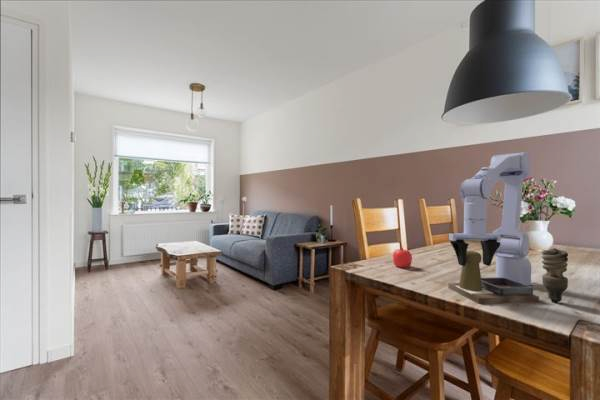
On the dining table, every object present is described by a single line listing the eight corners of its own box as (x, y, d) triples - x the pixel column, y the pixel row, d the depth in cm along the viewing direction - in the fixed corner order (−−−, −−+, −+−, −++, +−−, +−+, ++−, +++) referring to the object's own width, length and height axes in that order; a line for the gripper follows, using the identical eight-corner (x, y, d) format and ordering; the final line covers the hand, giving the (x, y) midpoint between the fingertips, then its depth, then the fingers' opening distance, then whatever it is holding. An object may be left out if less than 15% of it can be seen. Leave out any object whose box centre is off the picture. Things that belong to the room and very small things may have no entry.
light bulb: (539, 301, 77) (540, 247, 77) (541, 296, 81) (542, 245, 81) (567, 307, 73) (568, 250, 73) (567, 302, 77) (569, 248, 77)
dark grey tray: (503, 283, 89) (503, 277, 89) (534, 294, 78) (534, 287, 78) (473, 284, 88) (473, 277, 87) (500, 295, 77) (500, 288, 77)
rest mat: (476, 285, 86) (476, 285, 86) (493, 293, 79) (493, 292, 79) (455, 286, 85) (455, 285, 85) (471, 294, 78) (471, 293, 78)
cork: (462, 290, 81) (463, 252, 81) (456, 283, 87) (457, 249, 87) (485, 292, 79) (486, 253, 79) (478, 285, 85) (478, 250, 85)
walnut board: (500, 286, 90) (500, 282, 90) (538, 301, 77) (538, 296, 77) (448, 287, 88) (448, 283, 88) (478, 303, 75) (478, 298, 75)
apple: (416, 268, 112) (416, 249, 112) (397, 269, 111) (398, 249, 111) (405, 264, 120) (406, 245, 120) (388, 264, 119) (388, 245, 118)
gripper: (488, 218, 86) (488, 261, 86) (443, 218, 85) (442, 261, 86) (506, 220, 79) (506, 267, 79) (457, 219, 78) (456, 267, 78)
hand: (474, 265), depth 82 cm, fingers open, 7 cm apart
